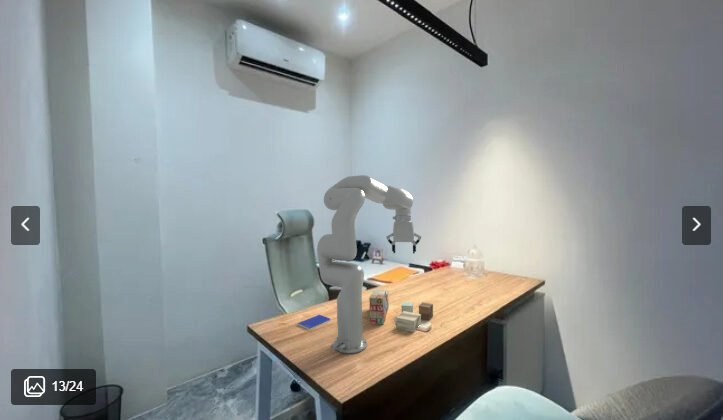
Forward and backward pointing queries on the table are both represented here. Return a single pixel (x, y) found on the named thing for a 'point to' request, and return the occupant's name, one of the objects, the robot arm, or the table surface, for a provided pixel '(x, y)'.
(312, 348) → the table surface
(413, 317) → the grey stepped block
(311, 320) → the hard drive
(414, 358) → the table surface
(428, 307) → the walnut block
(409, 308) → the sage block
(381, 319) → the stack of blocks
